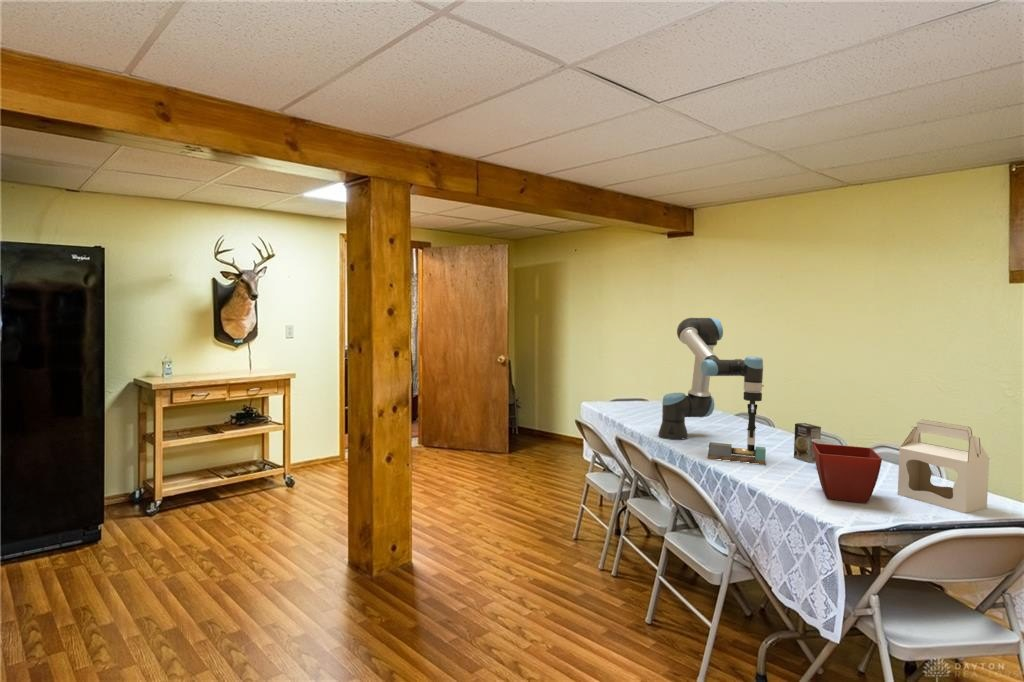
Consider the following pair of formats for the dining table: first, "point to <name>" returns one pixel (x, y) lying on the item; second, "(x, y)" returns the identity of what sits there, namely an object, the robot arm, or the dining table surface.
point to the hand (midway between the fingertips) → (751, 443)
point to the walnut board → (737, 458)
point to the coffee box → (805, 441)
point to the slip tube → (745, 450)
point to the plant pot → (847, 471)
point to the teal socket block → (760, 453)
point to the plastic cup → (823, 442)
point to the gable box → (967, 464)
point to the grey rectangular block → (720, 449)
